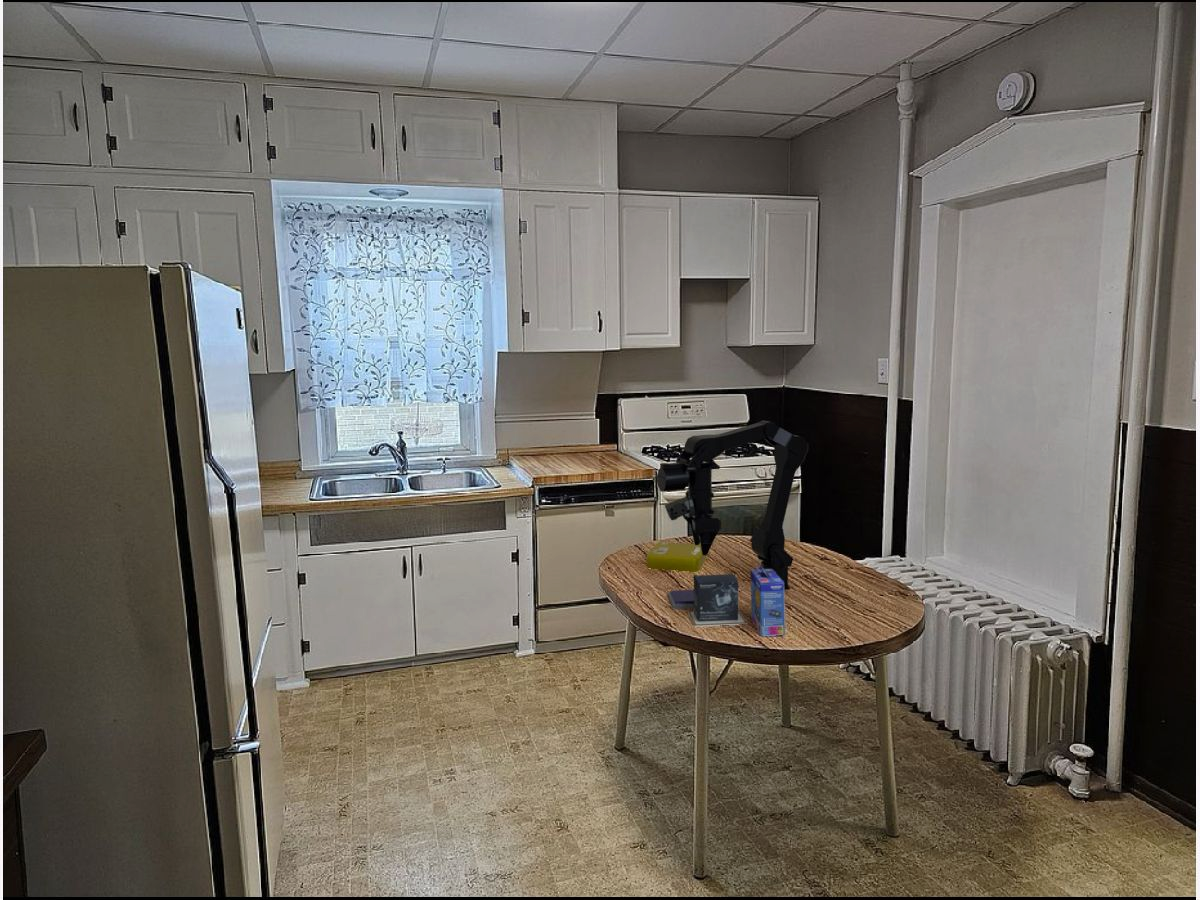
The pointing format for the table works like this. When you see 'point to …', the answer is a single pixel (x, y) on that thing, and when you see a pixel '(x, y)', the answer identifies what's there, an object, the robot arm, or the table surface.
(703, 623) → the card
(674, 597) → the ink pad
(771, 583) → the ink cartridge box
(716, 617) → the box
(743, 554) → the table surface
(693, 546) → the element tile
